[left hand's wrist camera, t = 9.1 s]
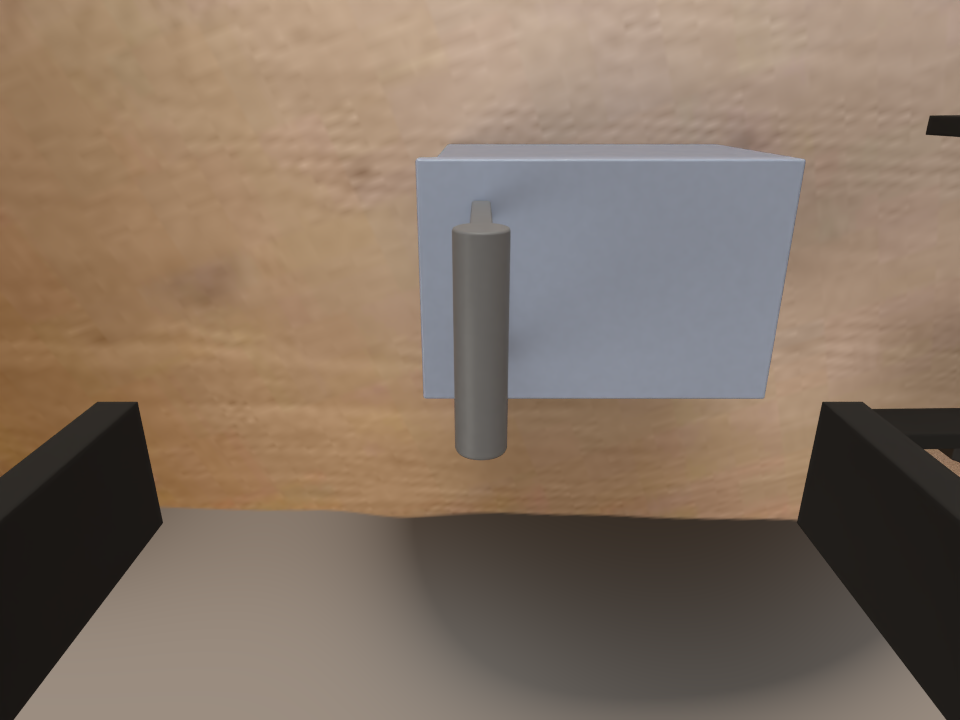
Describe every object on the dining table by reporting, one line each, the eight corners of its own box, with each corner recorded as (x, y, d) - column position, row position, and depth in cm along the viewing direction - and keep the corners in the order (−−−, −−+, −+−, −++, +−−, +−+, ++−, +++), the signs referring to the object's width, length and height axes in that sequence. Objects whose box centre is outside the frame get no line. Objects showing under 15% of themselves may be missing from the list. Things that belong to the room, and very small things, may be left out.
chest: (450, 325, 36) (441, 389, 28) (447, 143, 33) (436, 157, 24) (693, 325, 36) (755, 389, 28) (716, 144, 33) (794, 157, 24)
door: (425, 389, 28) (404, 498, 20) (417, 156, 24) (388, 180, 17) (755, 389, 28) (860, 499, 20) (794, 157, 24) (939, 181, 17)
